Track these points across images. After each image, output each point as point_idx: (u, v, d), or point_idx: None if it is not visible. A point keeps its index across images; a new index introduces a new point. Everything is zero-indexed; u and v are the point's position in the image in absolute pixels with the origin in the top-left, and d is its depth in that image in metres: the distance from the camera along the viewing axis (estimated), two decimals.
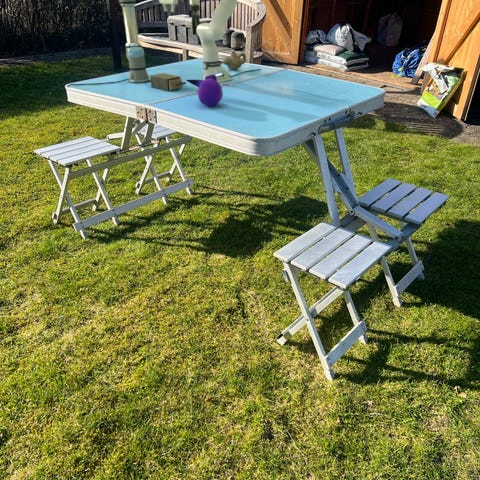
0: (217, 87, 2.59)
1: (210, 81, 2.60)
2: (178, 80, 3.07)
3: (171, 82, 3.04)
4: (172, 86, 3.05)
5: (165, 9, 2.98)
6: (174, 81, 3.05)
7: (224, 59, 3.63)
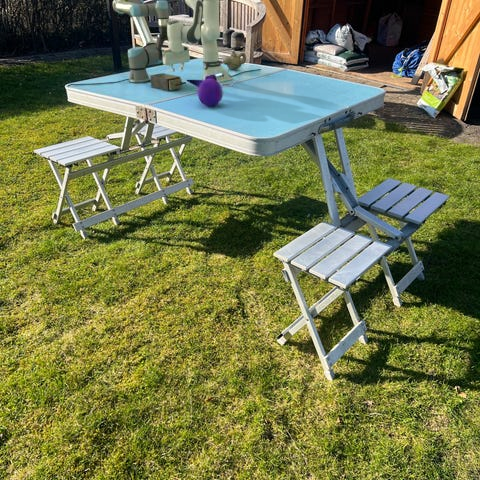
0: (217, 87, 2.59)
1: (210, 81, 2.60)
2: (178, 80, 3.07)
3: (171, 82, 3.04)
4: (172, 86, 3.05)
5: None
6: (174, 81, 3.05)
7: (224, 59, 3.63)
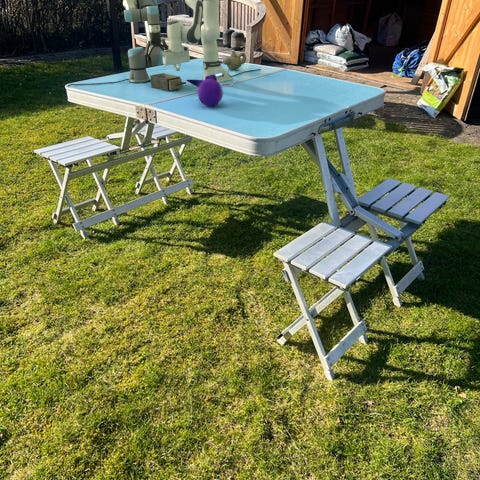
0: (217, 87, 2.59)
1: (210, 81, 2.60)
2: (178, 80, 3.07)
3: (171, 82, 3.04)
4: (172, 86, 3.05)
5: None
6: (174, 81, 3.05)
7: (224, 59, 3.63)
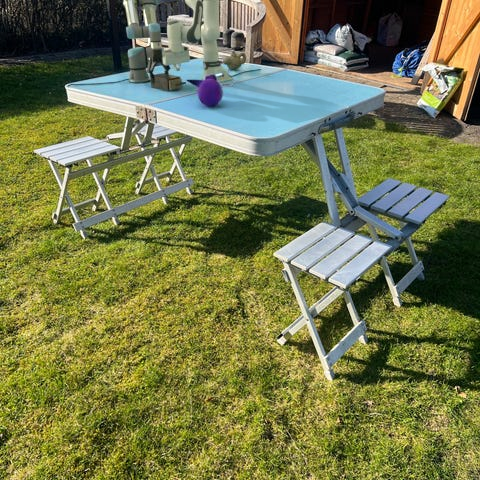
0: (217, 87, 2.59)
1: (210, 81, 2.60)
2: (178, 80, 3.07)
3: (171, 82, 3.04)
4: (172, 86, 3.05)
5: None
6: (174, 81, 3.05)
7: (224, 59, 3.63)
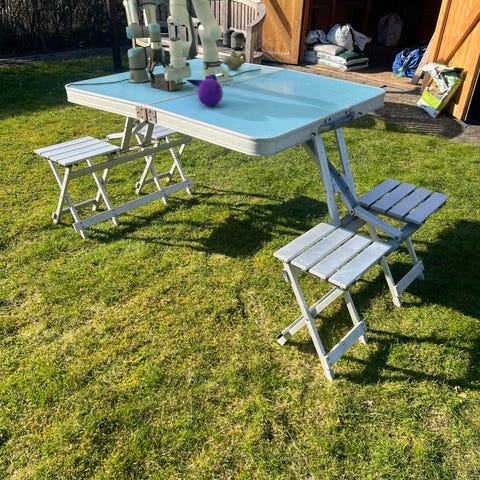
0: (217, 87, 2.59)
1: (210, 81, 2.60)
2: (178, 80, 3.07)
3: (171, 82, 3.04)
4: (172, 86, 3.05)
5: None
6: (174, 81, 3.05)
7: (224, 59, 3.63)
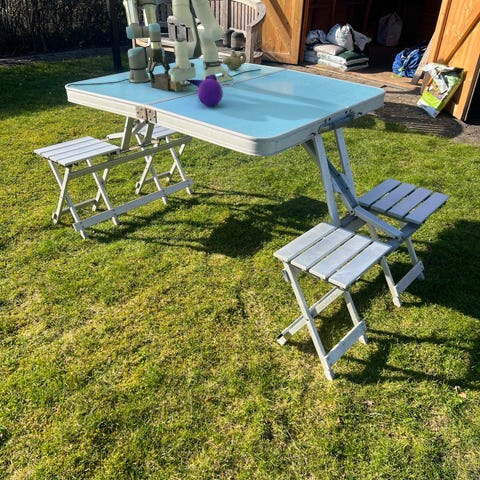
0: (217, 87, 2.59)
1: (210, 81, 2.60)
2: None
3: (176, 83, 3.00)
4: (177, 87, 3.02)
5: None
6: (179, 82, 3.01)
7: (224, 59, 3.63)
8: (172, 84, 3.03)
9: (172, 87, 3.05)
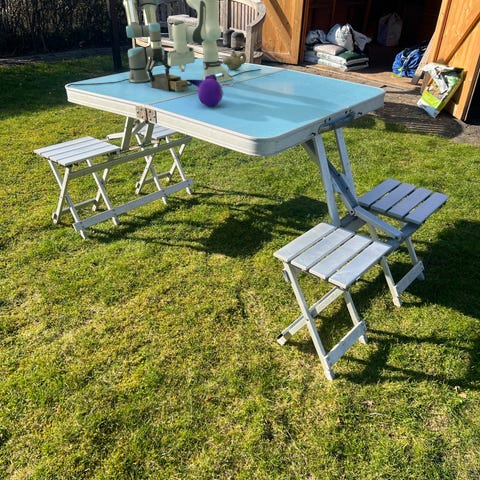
0: (217, 87, 2.59)
1: (210, 81, 2.60)
2: (184, 81, 3.03)
3: (177, 83, 3.00)
4: (178, 87, 3.01)
5: None
6: (180, 82, 3.01)
7: (224, 59, 3.63)
8: (172, 84, 3.03)
9: (172, 87, 3.04)
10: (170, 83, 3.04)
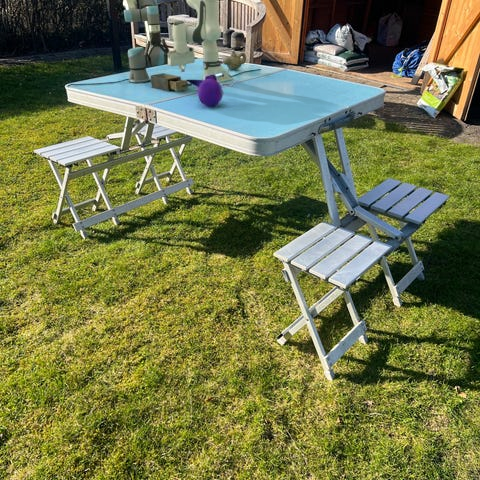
0: (217, 87, 2.59)
1: (210, 81, 2.60)
2: (184, 81, 3.03)
3: (177, 83, 3.00)
4: (178, 87, 3.01)
5: None
6: (180, 82, 3.01)
7: (224, 59, 3.63)
8: (172, 84, 3.03)
9: (172, 87, 3.04)
10: (170, 83, 3.04)
